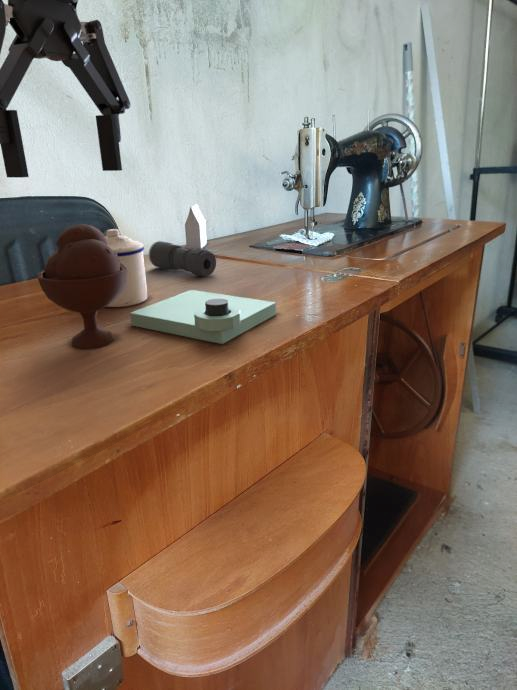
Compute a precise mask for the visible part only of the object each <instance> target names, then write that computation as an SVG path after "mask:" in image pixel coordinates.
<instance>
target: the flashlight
mask: <svg viewBox="0 0 517 690" xmlns="http://www.w3.org/2000/svg"><path fill="white" fill-rule="evenodd" d="M148 261H149V263H151V265H152V266H153V267H155V268H159V269H163V270H174V271H178V270H183V271H185V272H187V273H190V274H193V275H194V276H197V277H202V278H203V277H209V276H211V275H212V274H213V273H214V271H216V268H217V267H216V266H217V258H216V256H215V255H214V253H212V251H209V250H208V249H205V248H201V249H187V248H184V247H183V246H181V245H179V244H174V243H172V242H167V241H161V240H158V241H157V240H156V241H154V242H153V243H152V244H151V245H150V247H149V250H148Z"/></svg>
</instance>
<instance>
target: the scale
mask: <svg viewBox="0 0 517 690" xmlns="http://www.w3.org/2000/svg"><path fill="white" fill-rule="evenodd" d="M210 299H226V300H228V305H229V314H227V315H224V316H208V315H206V308H205V302H206V301H207V300H210ZM276 315H277V302H275V301H269V300H262V299H261V300H260V299H255V298H251V297H250V298H249V297H242V296H237V295H229V294H223V293H215V292H208V291H202V290H195V289H189V290H187V291H184V292H182V293H179V294H176V295H173V296H170V297H168V298H165V299H163V300H160V301H158V302H155V303H152V304H150V305H147V306H144V307H142V308H139V309H137V310H134V311H131V312H129V319H130V326H133V327H137V328H142V329H147V330H153V331H156V332H162V333H166V334H172V335H176V336H181V337H186V338H191V339H195V340H201V341H205V342H209V343H210V342H211V343H215V344H220V345H224V344H225V343H227V342H229V341H231V340H232V339H234V338H236V337H238V336H240V335H242V334H243V333H245V332H247V331H249V330H250V329H253V328H254V327H256V326H258V325H260V324H261V323H263V322H265V321H267V320H269V319H271V318H273V317H274V316H276Z"/></svg>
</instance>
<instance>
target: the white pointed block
mask: <svg viewBox="0 0 517 690" xmlns="http://www.w3.org/2000/svg"><path fill="white" fill-rule="evenodd" d="M206 225H207V224H206V219H205V217H204V216H203V213H202V212H201V210H200V207H199V204H198V203H197V204H193V205H192V206H190V207H189V211H188V215H187V218H186V220H185V223H184V232H185V245H186V247H185V248H186V249H194V250H196V249H203V248H204V247H205V246H206V245H207V244H208V241H207V227H206Z"/></svg>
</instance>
